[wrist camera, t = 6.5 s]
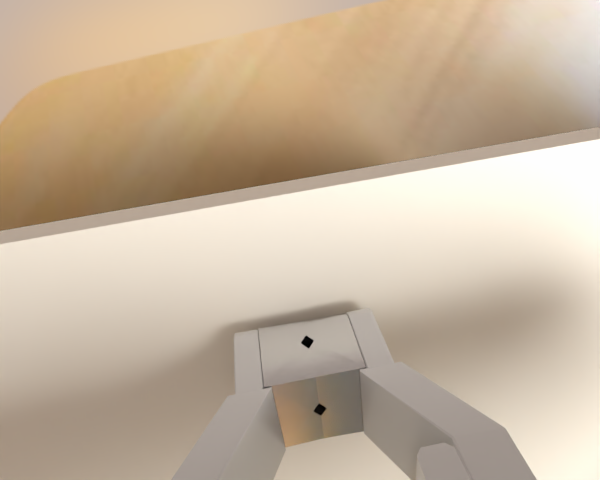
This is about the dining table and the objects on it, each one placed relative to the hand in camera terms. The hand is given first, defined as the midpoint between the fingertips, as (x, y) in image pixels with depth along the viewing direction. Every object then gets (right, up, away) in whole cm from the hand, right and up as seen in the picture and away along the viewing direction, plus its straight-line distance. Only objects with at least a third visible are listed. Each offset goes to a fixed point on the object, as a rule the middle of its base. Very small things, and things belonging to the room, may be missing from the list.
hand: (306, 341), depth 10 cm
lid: (0, -3, +2) cm, 4 cm away
